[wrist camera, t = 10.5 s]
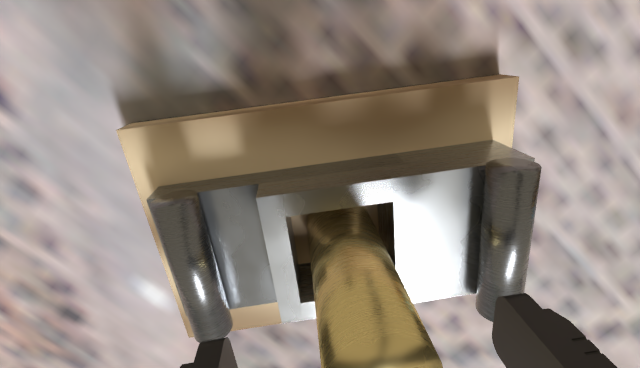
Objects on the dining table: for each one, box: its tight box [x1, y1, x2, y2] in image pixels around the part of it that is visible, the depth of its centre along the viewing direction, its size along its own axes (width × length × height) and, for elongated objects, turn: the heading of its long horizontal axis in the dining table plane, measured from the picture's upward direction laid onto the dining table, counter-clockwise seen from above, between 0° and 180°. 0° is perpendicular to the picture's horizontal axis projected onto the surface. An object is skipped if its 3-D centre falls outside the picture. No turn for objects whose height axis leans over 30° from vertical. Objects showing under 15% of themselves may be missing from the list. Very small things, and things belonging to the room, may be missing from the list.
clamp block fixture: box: [116, 74, 541, 343], centre depth 16 cm, size 12×18×6 cm, turn 97°
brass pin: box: [307, 206, 443, 368], centre depth 13 cm, size 3×3×9 cm
